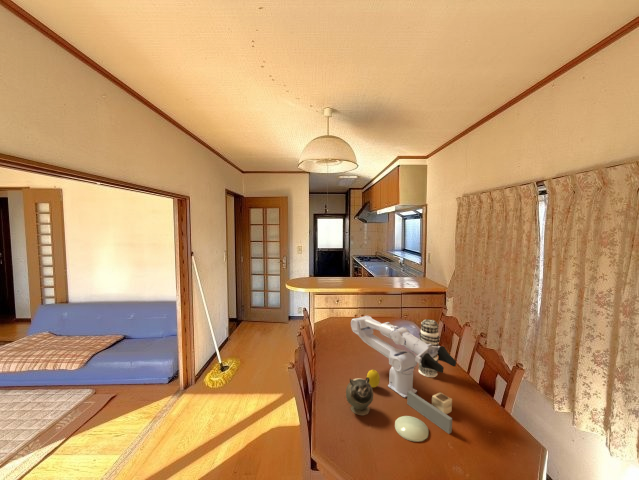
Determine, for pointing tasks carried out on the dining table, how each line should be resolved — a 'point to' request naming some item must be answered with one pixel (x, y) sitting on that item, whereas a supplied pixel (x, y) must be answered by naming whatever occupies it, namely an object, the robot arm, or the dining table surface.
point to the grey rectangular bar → (430, 412)
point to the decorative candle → (429, 336)
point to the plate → (411, 428)
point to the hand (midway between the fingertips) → (449, 367)
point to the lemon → (373, 378)
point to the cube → (442, 402)
